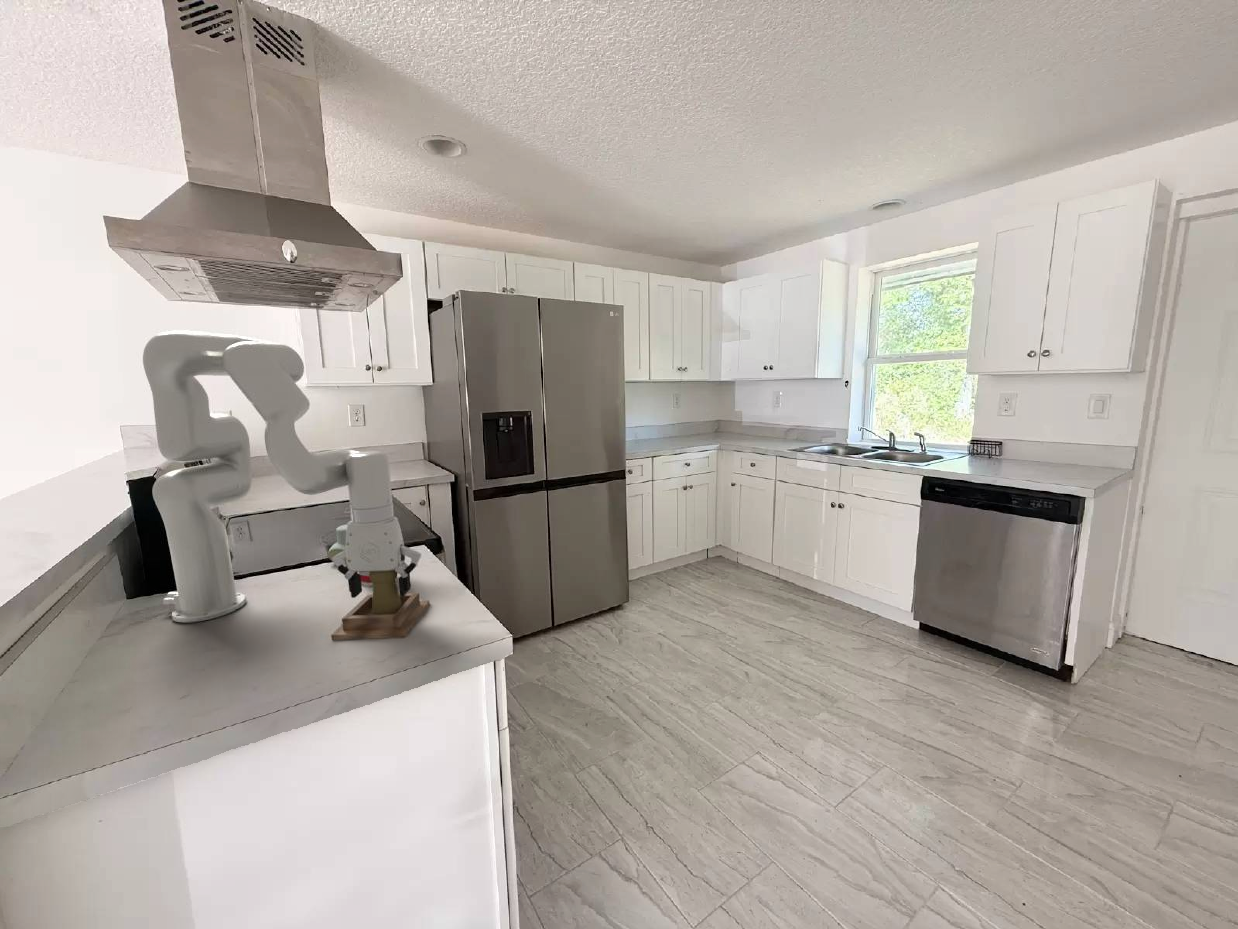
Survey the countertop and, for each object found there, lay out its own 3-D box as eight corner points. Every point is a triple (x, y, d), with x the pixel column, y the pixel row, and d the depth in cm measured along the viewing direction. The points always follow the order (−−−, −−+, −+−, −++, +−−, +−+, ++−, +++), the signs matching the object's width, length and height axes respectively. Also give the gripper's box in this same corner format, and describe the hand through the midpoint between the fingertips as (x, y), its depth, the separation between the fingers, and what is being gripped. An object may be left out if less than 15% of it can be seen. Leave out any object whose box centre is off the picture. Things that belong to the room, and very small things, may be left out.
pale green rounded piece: (323, 565, 134) (319, 530, 132) (347, 554, 142) (343, 521, 140) (357, 568, 131) (353, 532, 130) (379, 557, 139) (375, 523, 138)
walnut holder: (331, 639, 95) (329, 623, 94) (365, 606, 109) (363, 591, 108) (405, 637, 95) (403, 620, 95) (429, 604, 109) (428, 589, 109)
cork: (392, 624, 98) (387, 572, 97) (365, 622, 99) (359, 570, 98) (409, 610, 104) (405, 560, 102) (383, 608, 105) (378, 559, 103)
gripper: (317, 519, 94) (327, 603, 97) (409, 517, 95) (417, 601, 98) (338, 509, 101) (347, 587, 104) (423, 507, 102) (429, 585, 105)
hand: (380, 594), depth 101 cm, fingers open, 9 cm apart
